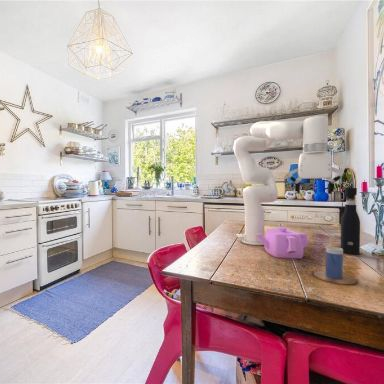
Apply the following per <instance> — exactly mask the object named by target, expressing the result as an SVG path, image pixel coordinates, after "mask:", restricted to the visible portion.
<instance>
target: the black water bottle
mask: <svg viewBox="0 0 384 384" xmlns="http://www.w3.org/2000/svg"><path fill="white" fill-rule="evenodd" d="M344 195H345V196H346V201H345V204H344V211H343V214H342V216H341V219H340V248H342V249H343V254H347V255H353V256H354V255H355V256H356V255H360V254H361V252H360V251H361V219H360V216H359V214H358V212H357V204H356V199H355V196H357V195H358V188H357V187H344Z"/></svg>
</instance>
